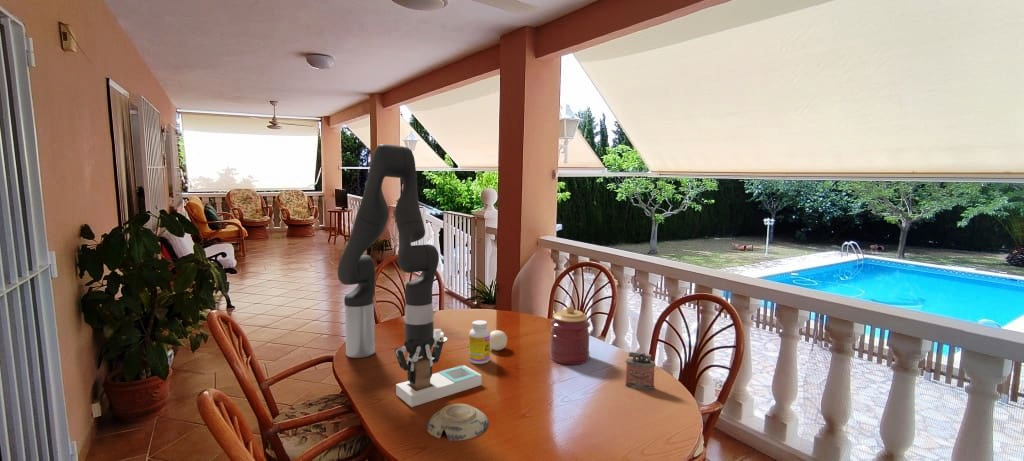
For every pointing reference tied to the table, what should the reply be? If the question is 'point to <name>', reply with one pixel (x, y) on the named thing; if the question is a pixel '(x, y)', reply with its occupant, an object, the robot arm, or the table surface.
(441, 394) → the socket rail
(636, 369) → the lighter
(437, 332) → the teacup and saucer
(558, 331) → the canister
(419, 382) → the walnut peg
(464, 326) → the table surface
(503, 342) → the baseball
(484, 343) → the supplement bottle
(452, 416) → the decorative bowl
